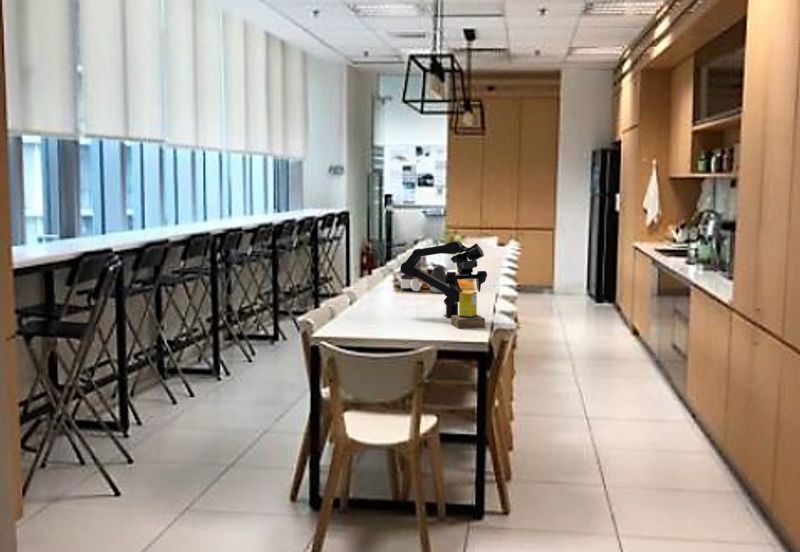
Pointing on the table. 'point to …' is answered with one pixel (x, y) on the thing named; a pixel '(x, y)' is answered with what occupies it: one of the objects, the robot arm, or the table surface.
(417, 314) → the table surface
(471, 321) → the walnut plinth
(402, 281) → the spread jar
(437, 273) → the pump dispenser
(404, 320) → the table surface
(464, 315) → the supplement box
